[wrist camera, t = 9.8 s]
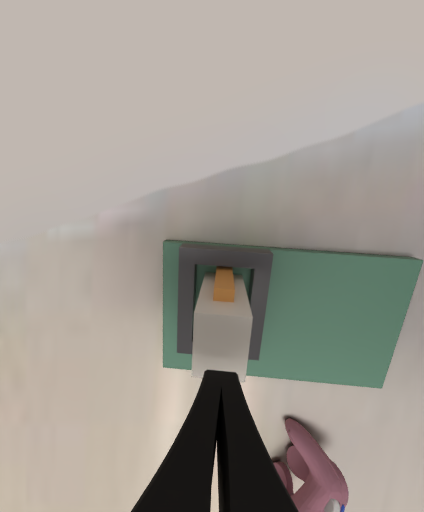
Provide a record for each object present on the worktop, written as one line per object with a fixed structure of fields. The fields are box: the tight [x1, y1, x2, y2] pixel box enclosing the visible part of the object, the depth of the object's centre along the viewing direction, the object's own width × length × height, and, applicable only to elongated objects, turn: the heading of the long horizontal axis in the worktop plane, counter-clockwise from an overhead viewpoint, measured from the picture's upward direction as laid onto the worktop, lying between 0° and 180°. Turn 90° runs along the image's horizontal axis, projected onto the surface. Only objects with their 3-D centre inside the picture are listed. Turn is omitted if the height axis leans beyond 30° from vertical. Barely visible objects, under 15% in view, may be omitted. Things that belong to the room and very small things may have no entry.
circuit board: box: [163, 240, 423, 388], centre depth 18 cm, size 20×12×1 cm, turn 87°
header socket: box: [177, 243, 273, 361], centre depth 17 cm, size 7×9×2 cm
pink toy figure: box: [273, 418, 348, 512], centre depth 20 cm, size 10×5×7 cm, turn 147°
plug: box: [191, 266, 253, 382], centre depth 14 cm, size 3×5×6 cm, turn 177°
